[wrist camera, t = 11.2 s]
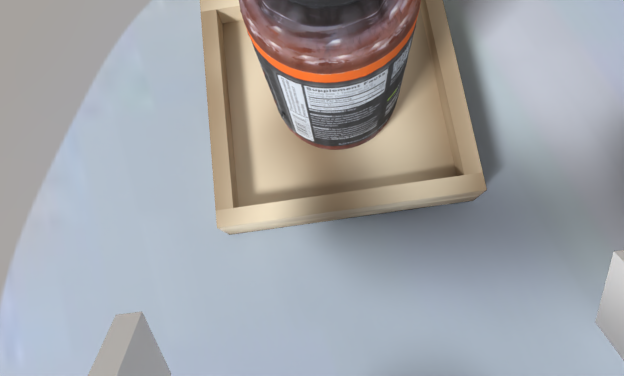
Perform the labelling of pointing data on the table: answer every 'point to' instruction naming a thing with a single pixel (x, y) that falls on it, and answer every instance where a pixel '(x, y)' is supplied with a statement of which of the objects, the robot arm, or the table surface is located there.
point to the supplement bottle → (333, 63)
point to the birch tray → (334, 163)
